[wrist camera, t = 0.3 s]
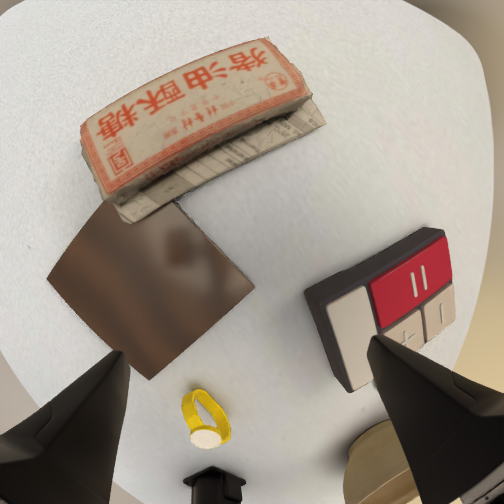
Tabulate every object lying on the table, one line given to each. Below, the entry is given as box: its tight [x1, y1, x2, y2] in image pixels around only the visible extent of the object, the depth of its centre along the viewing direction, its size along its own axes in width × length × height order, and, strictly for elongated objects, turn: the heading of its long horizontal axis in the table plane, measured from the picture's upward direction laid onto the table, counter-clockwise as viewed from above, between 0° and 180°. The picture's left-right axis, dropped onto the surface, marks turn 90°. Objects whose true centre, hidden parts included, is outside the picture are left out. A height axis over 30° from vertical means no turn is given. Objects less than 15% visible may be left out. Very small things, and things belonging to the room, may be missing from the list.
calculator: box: [304, 227, 455, 393], centre depth 24 cm, size 11×4×15 cm
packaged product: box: [80, 36, 327, 224], centre depth 18 cm, size 18×5×10 cm
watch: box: [181, 389, 231, 449], centre depth 22 cm, size 6×3×6 cm, turn 33°
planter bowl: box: [343, 420, 419, 504], centre depth 25 cm, size 16×16×11 cm
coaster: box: [47, 200, 255, 380], centre depth 22 cm, size 14×14×1 cm
